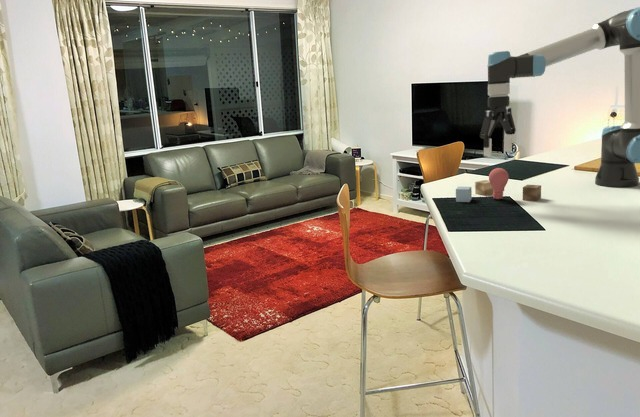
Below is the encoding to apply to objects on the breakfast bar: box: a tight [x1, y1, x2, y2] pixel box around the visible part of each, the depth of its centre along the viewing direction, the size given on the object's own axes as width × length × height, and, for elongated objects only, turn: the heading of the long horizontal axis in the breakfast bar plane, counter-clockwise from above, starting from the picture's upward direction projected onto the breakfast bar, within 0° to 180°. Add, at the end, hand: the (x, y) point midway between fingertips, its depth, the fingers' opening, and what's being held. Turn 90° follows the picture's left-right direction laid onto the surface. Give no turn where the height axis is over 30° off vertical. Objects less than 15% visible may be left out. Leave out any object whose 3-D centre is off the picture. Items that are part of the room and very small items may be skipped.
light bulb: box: [488, 167, 510, 200], centre depth 193 cm, size 7×7×12 cm
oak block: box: [474, 179, 494, 196], centre depth 205 cm, size 5×5×5 cm
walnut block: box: [522, 184, 542, 202], centre depth 190 cm, size 5×5×5 cm
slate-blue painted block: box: [455, 186, 472, 203], centre depth 196 cm, size 5×5×5 cm
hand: (497, 154), depth 190 cm, fingers open, 13 cm apart
